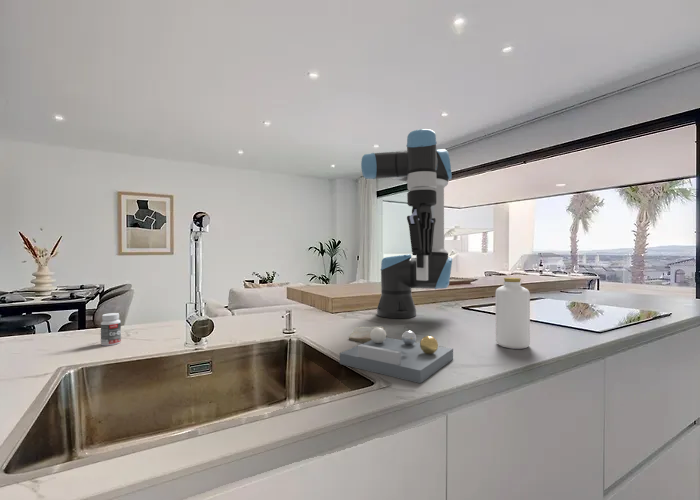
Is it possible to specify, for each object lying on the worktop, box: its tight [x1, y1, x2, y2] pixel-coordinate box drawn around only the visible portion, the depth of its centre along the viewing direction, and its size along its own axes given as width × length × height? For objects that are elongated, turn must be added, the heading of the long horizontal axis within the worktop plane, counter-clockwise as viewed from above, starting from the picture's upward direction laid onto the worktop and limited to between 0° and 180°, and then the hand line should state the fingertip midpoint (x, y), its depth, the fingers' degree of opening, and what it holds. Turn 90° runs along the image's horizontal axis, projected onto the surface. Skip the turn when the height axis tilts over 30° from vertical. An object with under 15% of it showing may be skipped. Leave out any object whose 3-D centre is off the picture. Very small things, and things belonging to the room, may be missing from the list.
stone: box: [348, 325, 386, 343], centre depth 104 cm, size 15×11×3 cm
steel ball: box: [401, 329, 417, 345], centre depth 88 cm, size 4×4×4 cm
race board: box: [339, 336, 454, 384], centre depth 83 cm, size 18×20×5 cm
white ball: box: [370, 326, 387, 344], centre depth 89 cm, size 4×4×4 cm
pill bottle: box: [100, 312, 122, 347], centre depth 100 cm, size 5×5×8 cm
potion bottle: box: [495, 277, 531, 350], centre depth 95 cm, size 8×8×18 cm
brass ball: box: [419, 335, 439, 354], centre depth 80 cm, size 4×4×4 cm
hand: (422, 280), depth 94 cm, fingers closed
